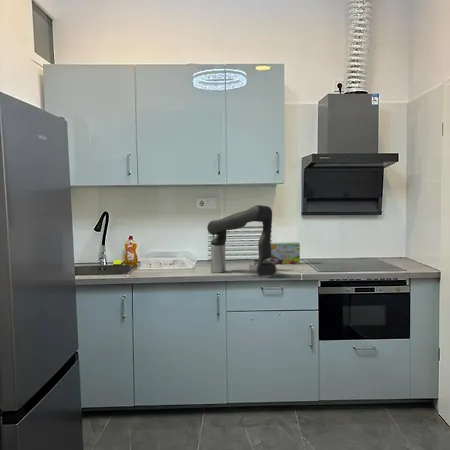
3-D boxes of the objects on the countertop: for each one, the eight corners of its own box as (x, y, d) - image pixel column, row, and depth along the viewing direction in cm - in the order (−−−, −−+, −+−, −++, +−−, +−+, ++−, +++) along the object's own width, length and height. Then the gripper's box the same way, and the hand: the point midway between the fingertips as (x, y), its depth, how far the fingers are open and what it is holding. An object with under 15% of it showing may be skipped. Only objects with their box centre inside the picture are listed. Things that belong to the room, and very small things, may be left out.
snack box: (270, 264, 300) (270, 243, 299) (268, 263, 305) (268, 242, 304) (299, 264, 301) (299, 242, 300) (298, 262, 307) (297, 241, 306)
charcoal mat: (249, 272, 270) (249, 271, 270) (249, 265, 298) (249, 264, 298) (278, 272, 269) (278, 271, 269) (275, 265, 297) (275, 264, 297)
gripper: (276, 258, 251) (274, 254, 268) (253, 258, 252) (253, 254, 269) (276, 270, 252) (274, 265, 269) (253, 270, 252) (253, 266, 270)
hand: (263, 260), depth 269 cm, fingers closed
